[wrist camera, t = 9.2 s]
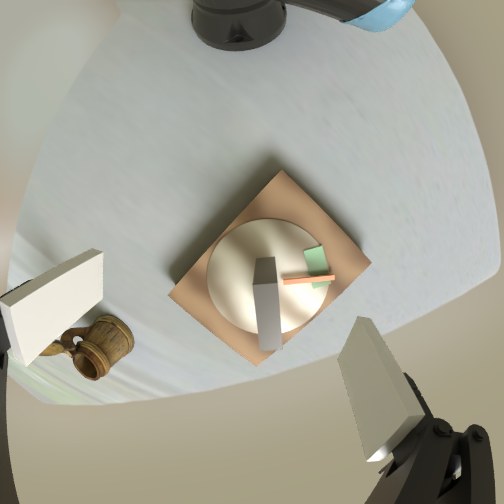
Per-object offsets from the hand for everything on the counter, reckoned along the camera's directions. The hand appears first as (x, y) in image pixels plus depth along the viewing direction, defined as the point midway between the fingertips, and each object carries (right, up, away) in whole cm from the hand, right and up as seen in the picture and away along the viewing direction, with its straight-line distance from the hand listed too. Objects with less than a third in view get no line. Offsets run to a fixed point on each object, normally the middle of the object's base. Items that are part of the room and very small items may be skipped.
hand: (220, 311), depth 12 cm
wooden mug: (-27, -12, +33) cm, 44 cm away
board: (+4, 0, +29) cm, 29 cm away
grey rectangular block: (+8, -1, +24) cm, 25 cm away
